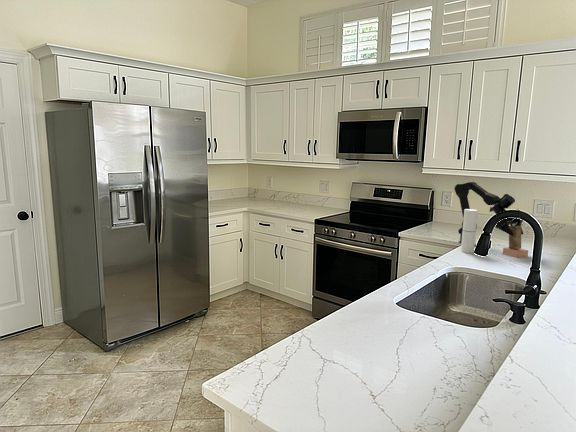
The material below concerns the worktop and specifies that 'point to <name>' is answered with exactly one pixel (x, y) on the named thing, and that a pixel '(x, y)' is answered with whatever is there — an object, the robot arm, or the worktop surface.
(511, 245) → the walnut block
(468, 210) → the cylindrical container
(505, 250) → the terracotta riser
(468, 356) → the worktop surface
